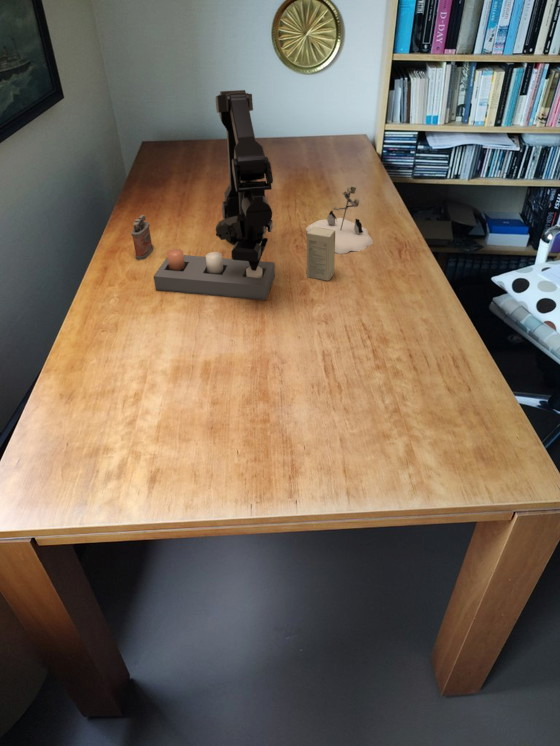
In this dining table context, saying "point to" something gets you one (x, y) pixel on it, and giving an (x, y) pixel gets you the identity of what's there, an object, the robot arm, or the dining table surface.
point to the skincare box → (320, 253)
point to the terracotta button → (175, 259)
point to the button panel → (215, 279)
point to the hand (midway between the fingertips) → (254, 269)
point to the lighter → (141, 238)
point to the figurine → (346, 228)
